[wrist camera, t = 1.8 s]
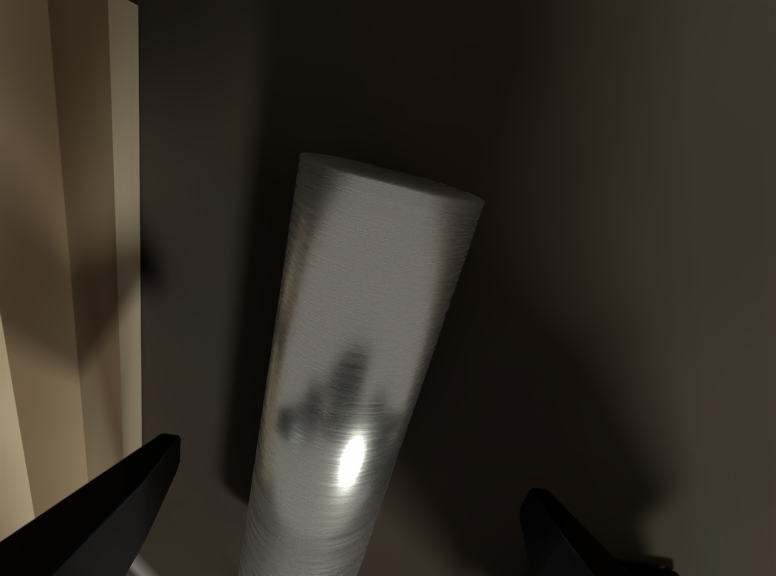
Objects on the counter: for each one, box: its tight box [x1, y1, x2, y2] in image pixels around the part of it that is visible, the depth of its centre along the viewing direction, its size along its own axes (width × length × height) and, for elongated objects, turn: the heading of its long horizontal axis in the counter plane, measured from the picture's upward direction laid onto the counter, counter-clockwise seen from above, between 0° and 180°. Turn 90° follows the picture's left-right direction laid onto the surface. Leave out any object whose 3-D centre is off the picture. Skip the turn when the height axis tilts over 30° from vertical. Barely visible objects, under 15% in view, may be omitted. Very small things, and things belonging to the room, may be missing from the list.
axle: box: [238, 153, 485, 576], centre depth 10 cm, size 14×4×4 cm, turn 166°
